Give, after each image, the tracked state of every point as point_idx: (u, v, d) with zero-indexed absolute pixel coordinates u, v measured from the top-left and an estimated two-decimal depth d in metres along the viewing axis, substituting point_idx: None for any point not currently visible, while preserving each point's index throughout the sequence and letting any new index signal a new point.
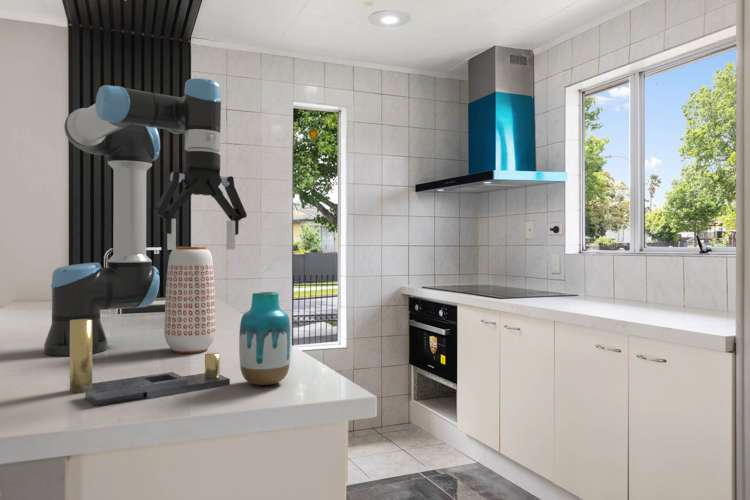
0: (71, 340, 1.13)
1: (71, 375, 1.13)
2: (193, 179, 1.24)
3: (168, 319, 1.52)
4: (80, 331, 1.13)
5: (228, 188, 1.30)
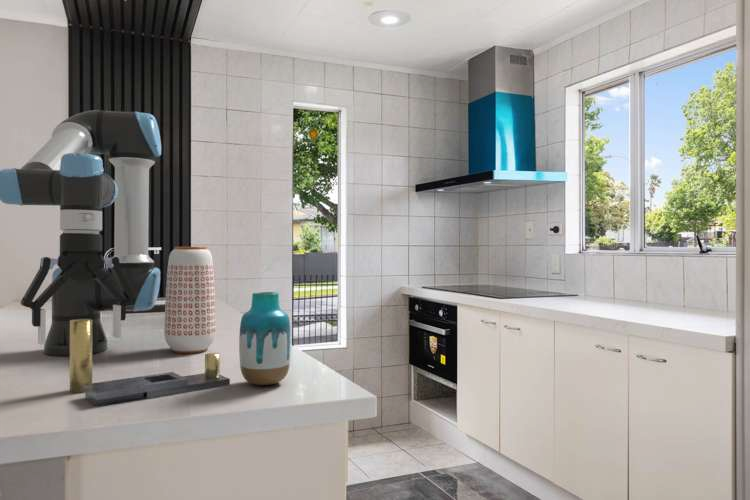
0: (71, 340, 1.13)
1: (71, 375, 1.13)
2: (68, 264, 1.12)
3: (168, 319, 1.52)
4: (80, 331, 1.13)
5: (113, 270, 1.18)
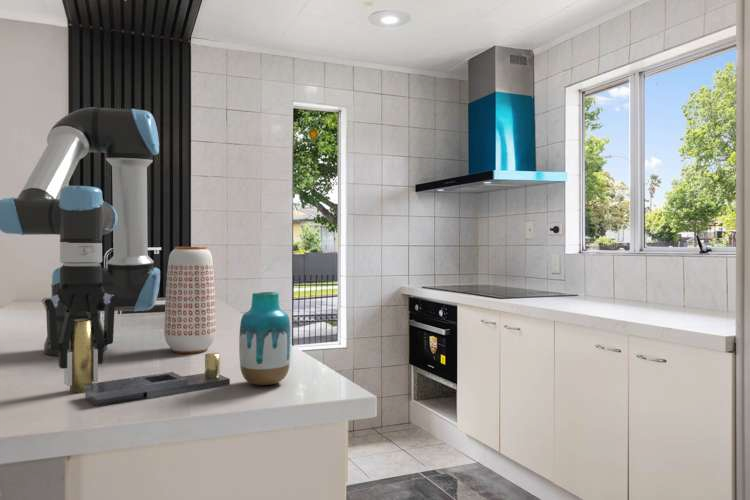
0: (71, 340, 1.13)
1: None
2: (69, 295, 1.12)
3: (168, 319, 1.52)
4: (80, 331, 1.13)
5: (107, 307, 1.18)
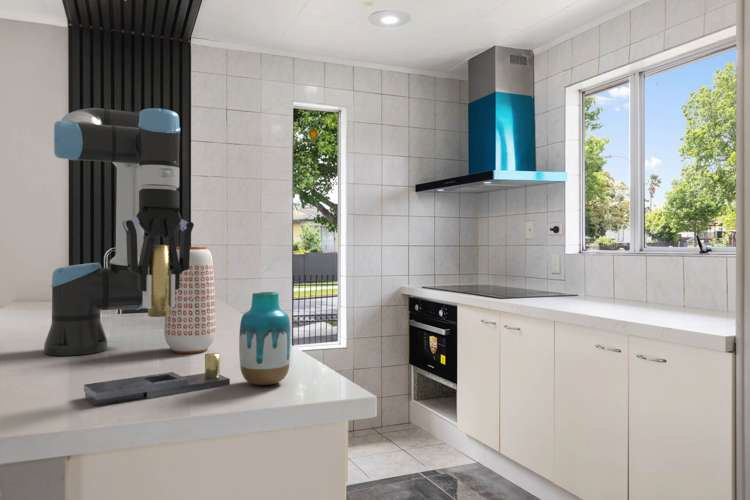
0: (150, 264, 1.13)
1: None
2: (148, 218, 1.12)
3: (168, 319, 1.52)
4: (159, 255, 1.13)
5: (183, 233, 1.17)
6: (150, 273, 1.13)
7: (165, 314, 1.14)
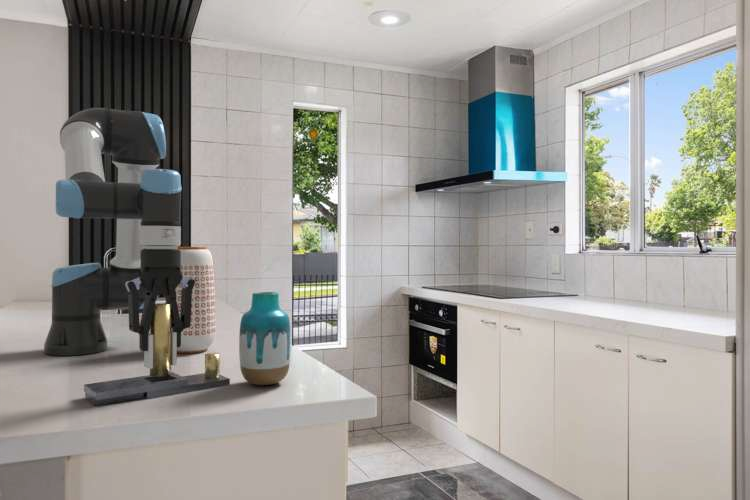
0: (152, 323, 1.13)
1: None
2: (150, 278, 1.12)
3: None
4: (161, 314, 1.13)
5: (184, 290, 1.18)
6: (152, 333, 1.13)
7: (167, 373, 1.14)
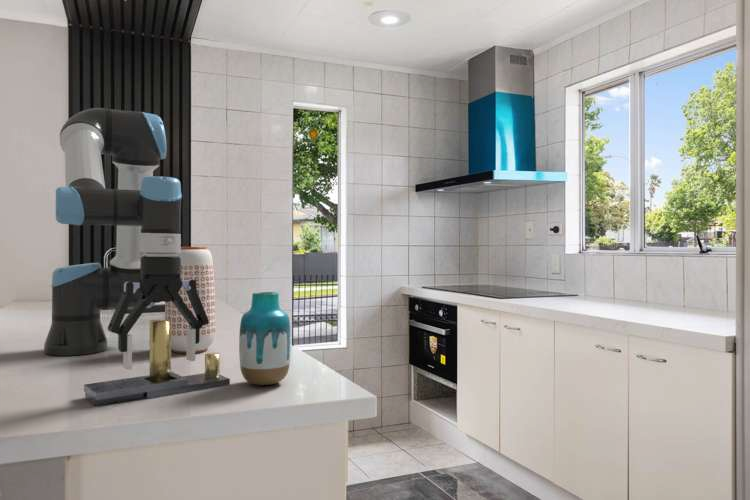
0: (151, 341, 1.13)
1: (151, 375, 1.13)
2: (149, 287, 1.12)
3: (168, 319, 1.52)
4: (161, 332, 1.13)
5: (189, 292, 1.18)
6: (151, 350, 1.13)
7: None
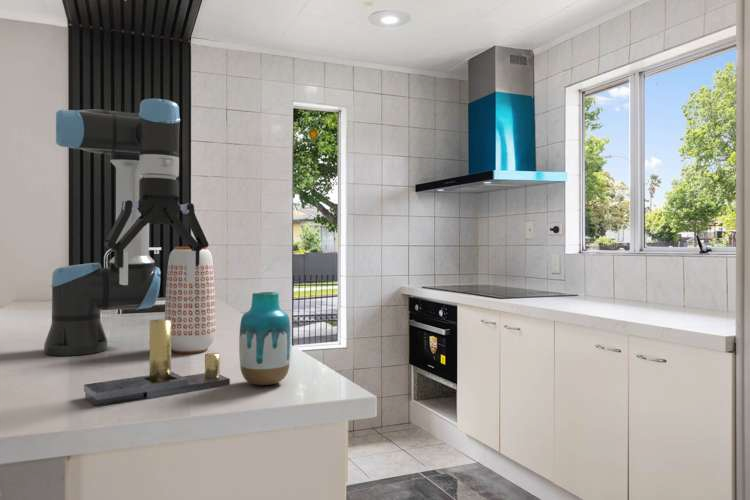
0: (152, 340, 1.13)
1: (151, 375, 1.13)
2: (148, 208, 1.15)
3: (168, 319, 1.52)
4: (161, 332, 1.13)
5: (188, 216, 1.21)
6: (152, 350, 1.13)
7: None
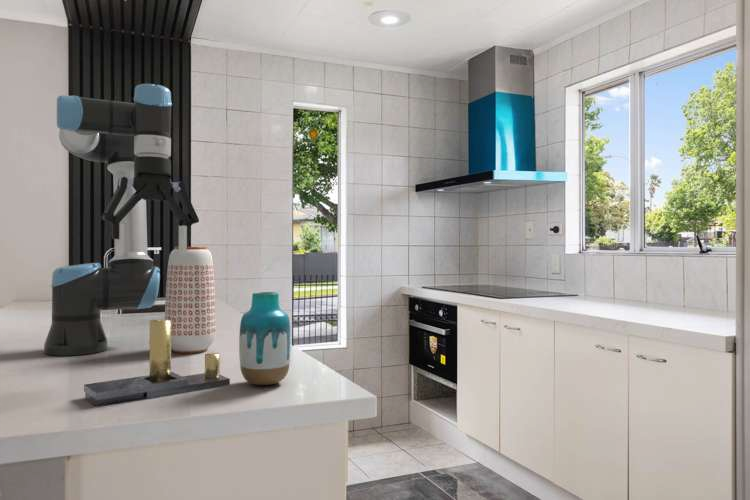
0: (151, 340, 1.13)
1: (151, 375, 1.14)
2: (142, 184, 1.24)
3: (168, 319, 1.52)
4: (161, 332, 1.13)
5: (179, 193, 1.30)
6: (151, 350, 1.13)
7: None
